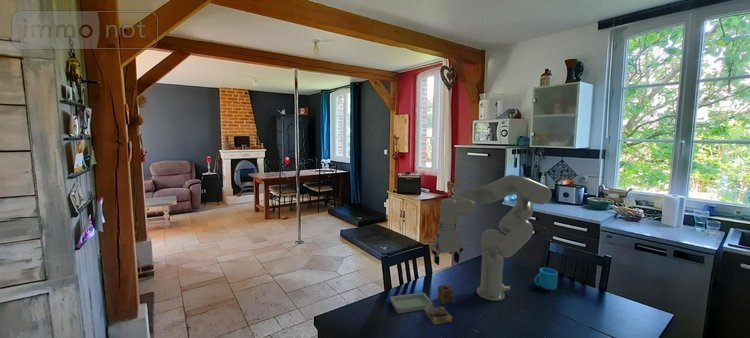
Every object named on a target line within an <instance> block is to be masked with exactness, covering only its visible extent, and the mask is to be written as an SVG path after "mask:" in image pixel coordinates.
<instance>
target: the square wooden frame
mask: <svg viewBox="0 0 750 338" xmlns="http://www.w3.org/2000/svg"><path fill="white" fill-rule="evenodd" d="M437 308H440V309H442V310H444V311H445V313H446V314H445V316H441V317H437V316H435V315H432V314H430V313H427V312H426V311H425V314H426V316H427V317H428V318H429V320H430V321H431V322H432V324H433V325H439V324H447V323H452V322H453V316H452V315H451V314H450V313H449V311H447V309H446V308H445V307H444V306H438V307H437Z"/></svg>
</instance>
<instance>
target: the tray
mask: <svg viewBox="0 0 750 338" xmlns="http://www.w3.org/2000/svg"><path fill="white" fill-rule="evenodd" d="M389 297H390V298H389V301H390V303H391V304H392V306H393V309H394V311H396V313H397V314H404V313H411V312H419V311H425V309H424V308H425V306H426V304H430V305H432V306H435V305H434V303H433V302H432V300H431V299H430V298H429V296H427V294H426V293H425V292H418V293H411V294H410V293H409V294H402V295H401V294H400V295H395V296H394V295H393V296H392V295H391V296H389Z"/></svg>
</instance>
